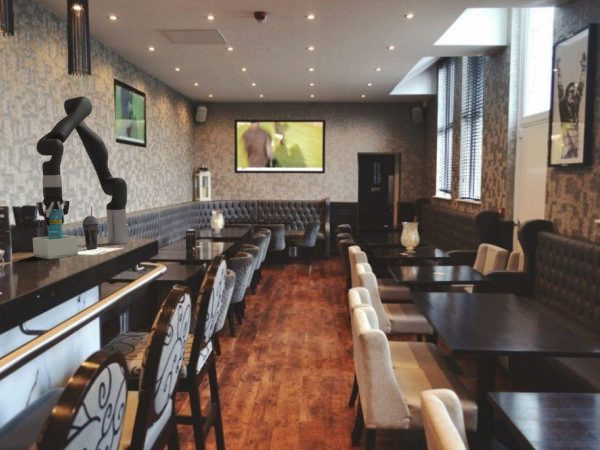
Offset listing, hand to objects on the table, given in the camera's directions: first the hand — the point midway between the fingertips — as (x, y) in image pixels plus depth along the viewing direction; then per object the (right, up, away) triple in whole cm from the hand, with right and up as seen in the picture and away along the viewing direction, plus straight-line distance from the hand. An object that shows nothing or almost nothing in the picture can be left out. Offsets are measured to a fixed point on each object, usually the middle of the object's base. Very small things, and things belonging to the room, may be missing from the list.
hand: (54, 225), depth 233 cm
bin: (0, -13, +1) cm, 13 cm away
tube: (0, -12, +1) cm, 13 cm away
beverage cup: (+8, -11, +22) cm, 26 cm away
